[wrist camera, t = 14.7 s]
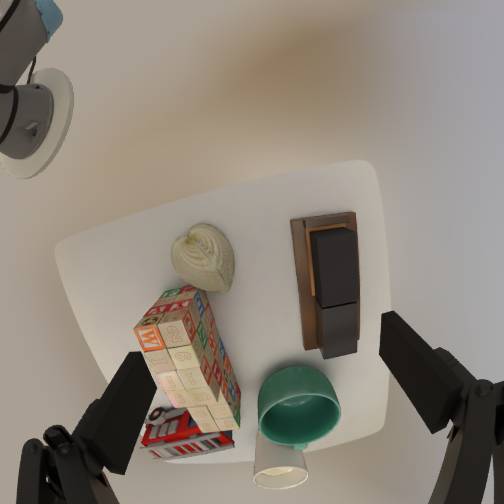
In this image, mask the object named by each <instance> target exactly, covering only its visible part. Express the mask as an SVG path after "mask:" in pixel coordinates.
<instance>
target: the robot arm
mask: <svg viewBox="0 0 504 504" xmlns="http://www.w3.org/2000/svg"><path fill="white" fill-rule="evenodd" d="M62 21H63V15H62V12H61V10H60V9H59V8H58V6H57V5H56V4H55V3H54V1H53V0H0V152H1V153H3V154H4V155H6V156H8V157H9V158H12V159H26V158H28V157H30V156H31V155H32V154H34V153H35V152H36V151H37V149H38V148H39V147H40V145H41V144H42V142H43V141H44V139H45V137H46V135H47V133H48V131H49V128H50V125H51V122H52V118H53V112H54V98H53V94H52V92H51V90H50V89H49V88H48V87H46V86H44V85H42V84H30V80H31V76H32V72H33V69H34V66H35V63H36V55H37V53H38V52H39V51H40V49H41V48H42V47H43V46H44V45H45V43H48V42H49V40H50V37H51V36H52V35H53V34H54V33H55V31H56V30H57V29H58V28H59V27H60V25H61V24H62ZM32 60H33V63H32V66H31V69H30V72H29V76H28V80H27V84H25V85H17V86H15V85H16V83H17V82H18V80H19V78H20V77H21V75H22V74H23V73H24V71H25V70H26V68H27V67H28V65H29V64H30V63H31V61H32ZM379 355H380V357H381V358H382V360H383V361H384V362H385V364H386V365H387V367H388V368H389V370H390V371H391V373H392V374H393V375H394V377H395V378H396V380H397V381H398V383H399V384H400V386H401V387H402V389H403V390H404V392H405V393H406V395H407V396H408V398H409V399H410V401H411V402H412V404H413V405H414V407H415V408H416V410H417V412H418V413H419V415H420V416H421V418H422V419H423V421H424V422H425V424H426V426H427V427H428V429H429V430H430V432H431V433H432V434H434V433H436V432H438V431H440V430H442V429H444V428H446V426H447V424H448V422H449V420H450V419H451V421H452V422H453V427H452V428H451V430H450V432H449V434H448V436H447V438H449V437H450V438H449V442H448V446H447V450H446V454H445V458H444V461H443V464H442V467H441V470H440V473H439V476H438V480H437V482H436V485H435V488H434V490H433V493H432V496H431V498H430V500H429V503H428V504H481V502H482V498H483V495H484V490H485V487H486V482H487V478H488V473H489V467H490V462H491V455H492V457H493V470H494V504H504V381H502V382H499V383H495V384H493V383H492V382H490V381H488V380H485V379H480V380H477V379H476V378H475V377H474V376H473V375H472V374H471V373H470V372H469V371H468V370H467V369H466V368H465V367H464V366H463V365H462V364H461V363H459V361H457V359H456V358H454V356H453V355H452V354H451V353H450V352H449V351H447V350H445V349H443V348H440V347H439V348H437V349H434V350H433V349H432V348H431V347H430V346H429V345H428V344H427V343H426V342H425V341H424V340H423V339H422V338H421V337H420V336H419V335H418V334H417V333H416V332H415V331H414V330H413V329H412V328H411V327H410V326H409V325H408V324H407V323H406V322H405V321H404V320H403V319H402V318H401V317H400V316H399V315H398V314H397V313H396V312H395V311H390V312H386V313H383V314H382V315H381V334H380V348H379ZM156 390H157V386H156V384H155V382H154V380H153V378H152V376H151V373H150V371H149V369H148V367H147V364H146V362H145V360H144V357H143V355H142V353H141V351H138V352H129V353H128V355H127V356H126V358H125V360H124V361H123V363H122V364H121V366H120V367H119V369H118V371H117V372H116V374H115V375H114V377H113V379H112V380H111V382H110V384H109V385H108V387H107V388H106V390H105V392H104V393H103V395H102V397H101V398H100V399H96V400H95V401H93V403H91V404H90V405H89V407H88V408H87V410H86V413H84V415H83V416H82V419H81V420H80V421H79V423H78V425H77V427H76V428H75V430H74V431H73V433H72V435H70V434H69V433H68V431H67V430H66V429H65V427H63V426H62V425H53V426H51V427H49V428H48V429H47V430H46V431H45V433H44V434H43V439H44V440H45V442H46V443H47V444H48V445H49V446H44V444H43V443H42V442H41V441H40V440H38V439H35V438H33V439H30V440H28V441H27V442H26V443H25V444H24V446H23V449H22V455H21V461H20V468H19V476H18V486H17V499H16V504H119V502H118V500H117V498H116V496H115V494H114V492H113V490H112V488H111V486H110V484H109V482H108V479H107V478H106V475H105V474H104V472H103V471H102V470H103V467H104V466H105V467H106V468H107V469H108V470H109V471H110V472H111V473H116V474H120V475H125V472H126V469H127V466H128V463H129V461H130V458H131V455H132V452H133V450H134V447H135V444H136V441H137V439H138V436H139V434H140V431H141V428H142V426H143V423H144V421H145V418H146V415H147V413H148V410H149V408H150V405H151V403H152V400H153V398H154V395H155V393H156ZM46 477H47V478H48V482H46Z"/></svg>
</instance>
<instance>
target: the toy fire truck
mask: <svg viewBox="0 0 504 504" xmlns="http://www.w3.org/2000/svg"><path fill="white" fill-rule="evenodd" d="M144 423H145V424H146V427H145V428H147V429H146V431H145V434H144V436H143V439H142V441H141V443H142V444H143V445H144V446H145V447H140V450H141V451H149V452H150V453H151V454H152V455H154V456H155V457H156V458H153V460H155V461H163V460H171V459H179V458H185V457H191V456H197V455H202V454H207V453H212V452H217V451H222V450H226V449H230V448H234V447H235V446H234V441H233V440H232V430H227V431H220V432H208V433H202V432H201V430H200V428H199V427H198V425H197V423H196V421H194V419H193V418H192V416H191V414H190V413H189V411H188V409H187V407H181V408H178V409H175V410H172V411H169V412H167V413H165V411H164V410H163V409H161V408H157V409H155V410H154V411H153V412H152V413H151V415H149V416H148V419H145V422H144ZM194 451H196V452H194Z"/></svg>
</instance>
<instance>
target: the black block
mask: <svg viewBox="0 0 504 504" xmlns="http://www.w3.org/2000/svg"><path fill="white" fill-rule="evenodd" d="M309 237H310V246H311V255H312V265H313V276H314V287H315V295H316V297H317V299H318V300H319V302H320V304H321V306H322V307H323V308H324V307H329V306H334V305H339V304H344V303H349V302H354V301H359V276H358V254H357V239H356V232H355V231H353V230H351V229H348V228H346V227H338V228H331V229H324V230H317V231H310V232H309Z"/></svg>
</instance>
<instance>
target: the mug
mask: <svg viewBox="0 0 504 504" xmlns="http://www.w3.org/2000/svg"><path fill="white" fill-rule="evenodd" d="M340 416H341V408H340V405H339V402H338V399H337V396H336V393H335V391H334V388H333V386H332V384H331V382H330V381H329V379H328V378H327V377H326V376H325V375H324V374H323V373H322V372H320V371H319V370H317V369H314V368H311V367H307V366H292V367H287V368H284V369H282V370H279V371H277V372H276V373H274V374H272V375H271V376H270V377H269V378H268V379H267V380H266V381H265V382H264V384H263V385H262V387H261V389H260V391H259V395H258V424H259V429H260V432H261V433H262V435H263V436H264V437H265V438H266V439H268V440H269V441H271V442H274V443H277V444H281V445H293V449H294V450H303V449H305V448H307V443H310V442H313V441H316V440H318V439H320V438H322V437H324V436H325V435H327V434H328V433H329V432H330V431H332V430H333V429H334V427H335V426H336V425H337V423H338V421H339V419H340Z"/></svg>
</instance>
